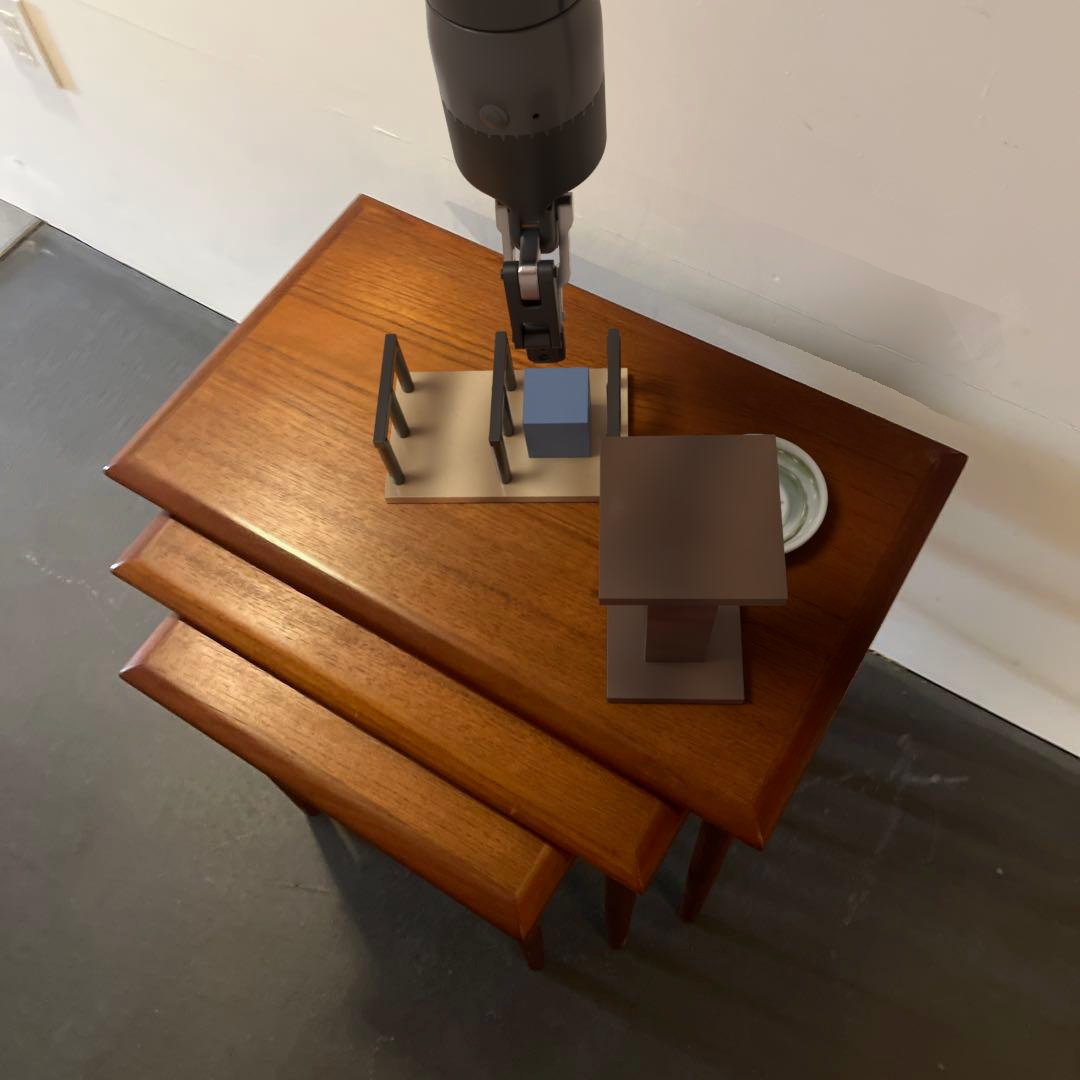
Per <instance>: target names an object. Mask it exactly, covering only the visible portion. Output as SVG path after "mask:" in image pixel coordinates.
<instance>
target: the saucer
mask: <svg viewBox="0 0 1080 1080" xmlns="http://www.w3.org/2000/svg"><path fill="white" fill-rule="evenodd" d="M744 435H765V434H764V433H745V434H744ZM776 446H777V459H778V472H779V486H780V499H781V512H782V525H783V539H784V552H785V554H788V553H790V552H792V551H794V550H797V549H799V548H800V547H802V546H803V545H804V544H806V543H807V542H808V541H810V539H812V538H813V536H814V535H815V534H816V533H817V532H818V530H819V528H820V527H821V525H822V524H823V521H824V519H825V517H826V514H827V510H828V503H829V493H828V487H827V483H826V480H825V477H824V474H823V473H822V471H821V469H820V467H819V466H818V464H817V462H816V461H815V460H814V459H813V458H812V457H811V456H810V454H808V453H807V452H806V451H805V450H804V449H802V448H801V447H799V446H798V445H797V444H795V443H793V442H792V441H791V442H790V441H789V440H787V439H784V438H782V437H778V436H776Z"/></svg>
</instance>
